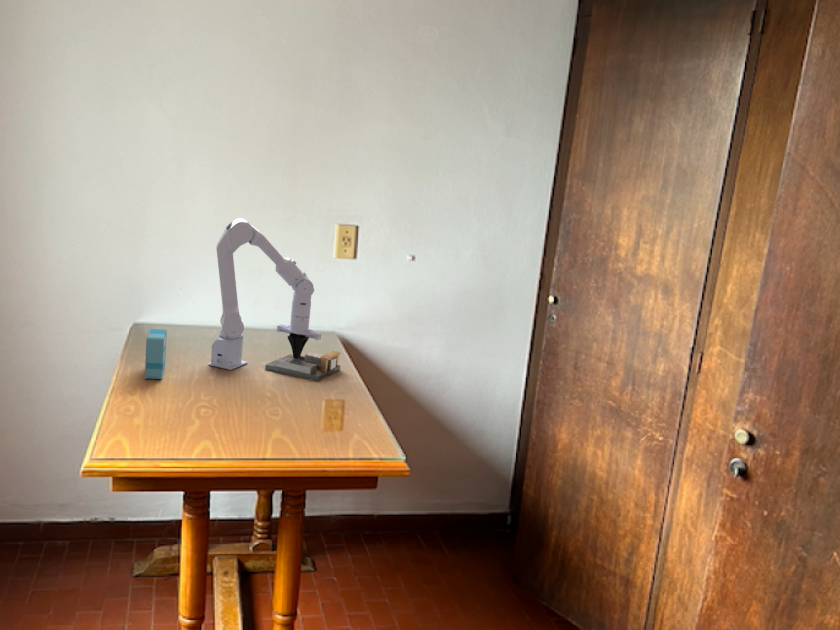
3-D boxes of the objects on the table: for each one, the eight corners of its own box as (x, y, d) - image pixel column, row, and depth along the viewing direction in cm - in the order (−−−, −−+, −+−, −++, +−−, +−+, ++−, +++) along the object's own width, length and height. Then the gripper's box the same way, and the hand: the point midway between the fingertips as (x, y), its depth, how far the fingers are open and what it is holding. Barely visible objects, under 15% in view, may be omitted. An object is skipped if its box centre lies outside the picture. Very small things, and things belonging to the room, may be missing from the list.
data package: (161, 381, 216) (163, 339, 213) (144, 380, 214) (146, 338, 212) (164, 368, 227) (166, 328, 224) (148, 367, 226) (150, 327, 223)
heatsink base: (318, 381, 231) (319, 362, 230) (265, 369, 237) (266, 350, 236) (340, 370, 245) (341, 352, 244) (289, 358, 251) (291, 341, 249)
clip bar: (330, 369, 239) (331, 360, 238) (304, 363, 241) (305, 354, 241) (335, 367, 242) (336, 357, 241) (309, 361, 245) (310, 352, 244)
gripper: (327, 317, 242) (323, 359, 245) (286, 309, 247) (282, 350, 250) (316, 321, 236) (312, 364, 239) (274, 312, 240) (271, 355, 243)
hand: (296, 357), depth 244 cm, fingers closed
